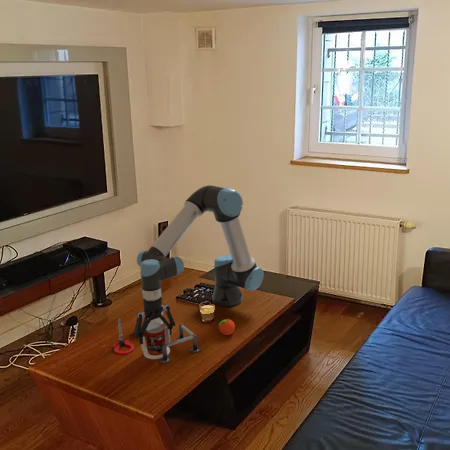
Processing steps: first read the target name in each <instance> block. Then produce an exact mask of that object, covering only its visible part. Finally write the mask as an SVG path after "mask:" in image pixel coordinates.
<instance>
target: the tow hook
mask: <svg viewBox="0 0 450 450" xmlns="http://www.w3.org/2000/svg"><path fill="white" fill-rule="evenodd" d="M117 325H118V326H117V327H118V333H119V335H118V340H117V341H118V342H116V343H113V347H114V350H113V351H114V352H115V354H117V355H123V356H124V355H128V354H131V353H132V352H134V350H135V345H134V344H133V343H132V342H130V340H129V339H128V340H125V339H124V337H123V336H124V335H123V330H122V329H123V328H122V323H121V318H118V323H117ZM122 346H126V347H129V348H130V349H128V350H124V351H123V350H119V349H120V348H121V347H122Z"/></svg>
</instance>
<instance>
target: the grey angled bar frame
mask: <svg viewBox="0 0 450 450" xmlns="http://www.w3.org/2000/svg"><path fill="white" fill-rule="evenodd" d="M184 332H185V333H187V334H188V335H189V336H186V335H185V334H184ZM178 333H179V336H177V337H176V340H173V341H170V343H167V342H166V343H165V344H163V345H162V352H163V357H162V358H161V359H159V362H160V364H168V363H170V362H171V361H172V359H171V356H170V357H169V356H168V355H167V347H169V348H170V347H172V346H175V345H177V344H181V343H184V342H187V341H190V340H192V347H190V349H189V351H190V352H191V353H192V354H196V353H197V354H198V353H200V352H201V350H202V349H201V347H199V346H198V336H197V334H195V333H194V332H193V331H191V330H190V329H189V328H188V327H186V326H184V324H183V323H179V324H178Z"/></svg>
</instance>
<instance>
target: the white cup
mask: <svg viewBox="0 0 450 450" xmlns="http://www.w3.org/2000/svg"><path fill="white" fill-rule="evenodd" d="M162 306H164V305H163V304H162ZM161 314H162V315H163V316H164V310H163V311H162V313H161ZM153 323H160V324H163V325H164V322H163V321H162V320H161V319H160V318H158V319H154V320H151V322H150V323H149V324H148V325H150V324H153Z"/></svg>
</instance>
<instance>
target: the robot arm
mask: <svg viewBox="0 0 450 450" xmlns="http://www.w3.org/2000/svg"><path fill="white" fill-rule="evenodd" d="M243 205H244V203H243V197H242V195H241V194H240V192H238V191H237V190H235V189H233V188H230V187H222V186H216V185H211V184H210V185H209V184H208V185H204V186H202V187H200V188H198V189H197V190H196V191H194V192H193V193H192V194H191V195H190V196H189V197H188V198H187V199H186V200H185V201H184V202H183V207H182V209H181V210H180V211H179V212H178V213H177V214H176V216H174V218H173V219H172V220H171V222H169V224H168V225H167V227H166V228H165V229H164V230H163V231H162V233H161V234H160V235H159V236H158V238H157V239H156V240H155V241H154V242H153V244H152V245H151V246H150V247H149V248H148V250H142V251H140V252H139V253H138V254H137V256H136V262H137V265H138V266H139V267H140V278H141V280H140V281H141V288H142V291H141V292H142V303H143V311H142V312H139V311H138V312H137V313H136V323H135V327H134V330H133V336H134V337H135V338H138V343H139V344H140V346H141V350H142V351H143V352H146V348H147V343H146V336H144V335H145V334H146V329H147V327H148V324H149V323H150V322H151V320H154V319H158V318H160V319H161V320H162V321H163V325H164V324H165V325H164V330H165V343H166V344H167V343H170V342H171V336H172V334H173V333H172V329H173V327H175V326H176V322H175V320H174V317H173V315H172V313H171V308H170V306H169V305H168V304H164V305H163V298H162V281H165V280H168V279H170V278H173V277H176V276H178V275H180V274H182V273H183V272H184V270H185V264H184V261H183V260H182V258H181V257H179V256H178V255H177V256H171V257H170V258H169V257H167V255H169V252H170V251H171V250H172V249H173V248H174V247H175V245H176V244H177V242H179V240H180V239H181V238H182V237H183V235H184V234H186V232H187V230H189V228H190V227H191V226H192V224H193V223H194V222H195V221H196V220H197V218H198V217H199V218H200V217H201V216H202V215H203V214H204V213H205V212H206V213H207V212H209V213H210V212H211V213H213V217H214V218H215V221H216V222H217V223H219V224H220V227H221V229H222V232H223V235H224V238H225V242H226V244H227V245H226V246H227V248H228V250H229V254H225V255H220V256H218V257H216V258H215V259H214V264H213V265H214V266H213V267H214V268H213V270H214V286H215V287H214V289H213V294H212V296H211V297H212V299H211V300H212V302H213V304H214V303H215V304H214V305H217V306H220V307H234V306H237V305H239V304H241V303H242V301H243V294H242V291H241V289H244V290H249V291H255V290H257V289H258V288H259V287H260V286H261V285H262V282H263V280H264V276H265V274H264V270H263V268H262V267H260V266H257V264H256V263H257V262H256V259H255V258H254V257H252V256H251V253H250V251H249V247H248V244H247V241H246V238H245V234H244V231H243V228H242V224H241V221H240V218H239V217H240V215H241V212H242V210H243V207H242V206H243ZM162 305H163V306H162ZM162 311H163V312H165V315H166V317H167V319H168V320H167V319H166V318H165V317H164V314H163V315H162V314H161V313H162ZM165 326H166V327H165Z"/></svg>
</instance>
